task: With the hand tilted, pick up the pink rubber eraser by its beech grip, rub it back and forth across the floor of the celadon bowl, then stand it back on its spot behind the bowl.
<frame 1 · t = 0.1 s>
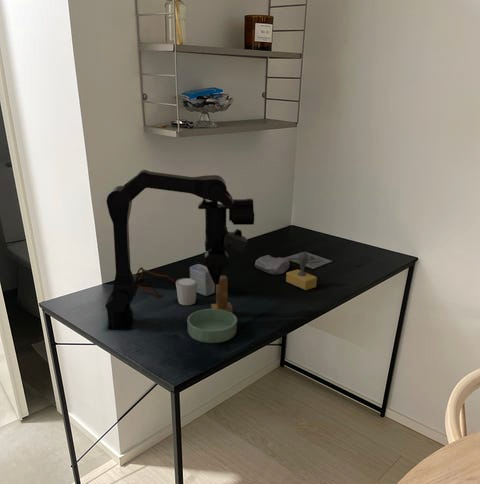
hand: (216, 278, 140), 15 cm above the table, tool pointing down, fingers open, 9 cm apart
stone block: (270, 269, 188), on the table
rubber stamp: (300, 284, 175), on the table
medicine box: (202, 292, 168), on the table
bowl: (212, 331, 142), on the table
glasses: (150, 287, 170), on the table
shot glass: (187, 302, 160), on the table
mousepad: (320, 262, 196), on the table
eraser: (221, 314, 152), on the table
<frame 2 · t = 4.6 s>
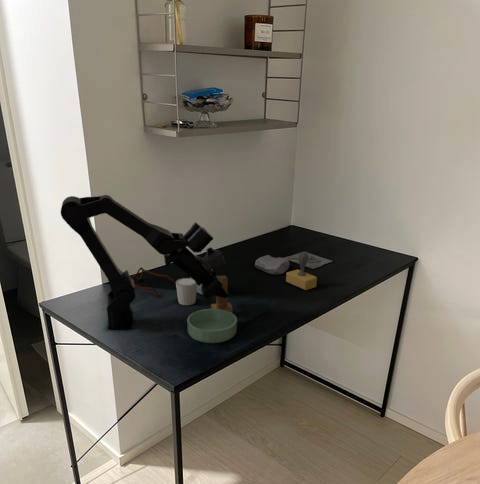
hand: (226, 295, 149), 7 cm above the table, tool tilted 45°, fingers closed on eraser, 3 cm apart
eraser: (221, 314, 152), on the table, touching gripper
everything else where it was.
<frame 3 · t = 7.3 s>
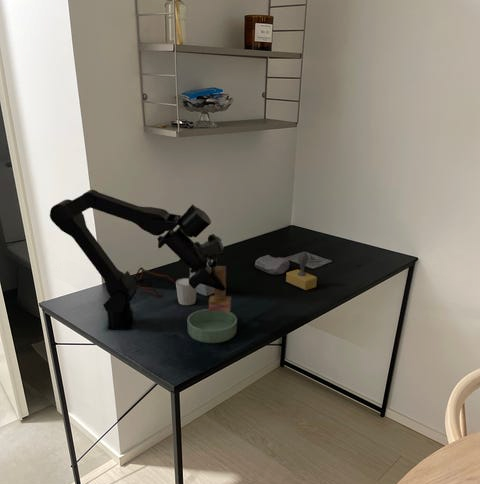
hand: (225, 287, 137), 13 cm above the table, tool tilted 45°, fingers closed on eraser, 3 cm apart
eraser: (220, 308, 140), point 7 cm above the table, touching gripper
everything else where it was.
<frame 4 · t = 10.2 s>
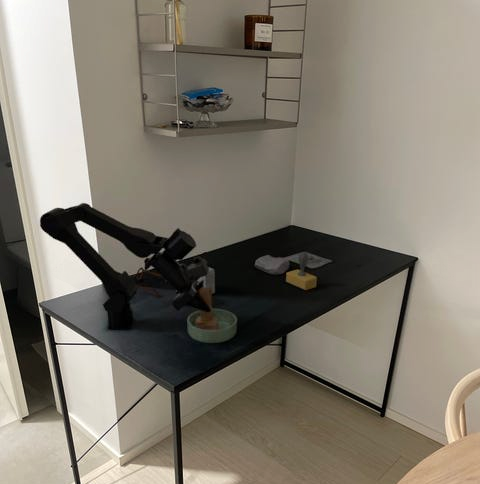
hand: (210, 309, 139), 7 cm above the table, tool tilted 45°, fingers closed on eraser, 3 cm apart
bowl: (212, 331, 142), on the table, touching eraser
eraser: (207, 329, 142), point 1 cm above the table, touching bowl, gripper
everything else where it was.
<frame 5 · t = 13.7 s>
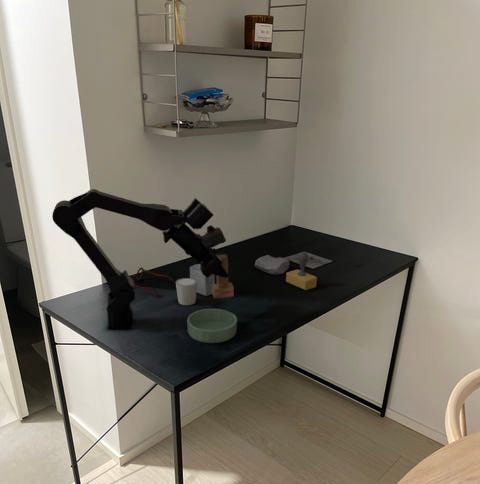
hand: (226, 274, 145), 13 cm above the table, tool tilted 45°, fingers closed on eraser, 3 cm apart
bowl: (212, 331, 142), on the table
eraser: (222, 295, 148), point 7 cm above the table, touching gripper
everything else where it was.
when the fingers open (7 cm above the table, at t = 16.1 s): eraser stays where it is, on the table.
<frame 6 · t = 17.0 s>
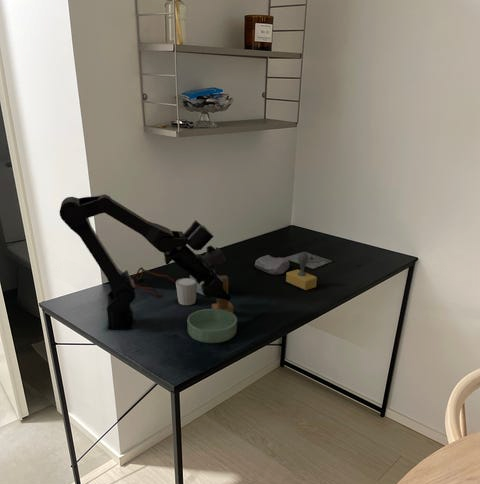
hand: (226, 293, 149), 7 cm above the table, tool tilted 45°, fingers open, 9 cm apart
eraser: (222, 314, 152), on the table
everything else where it was.
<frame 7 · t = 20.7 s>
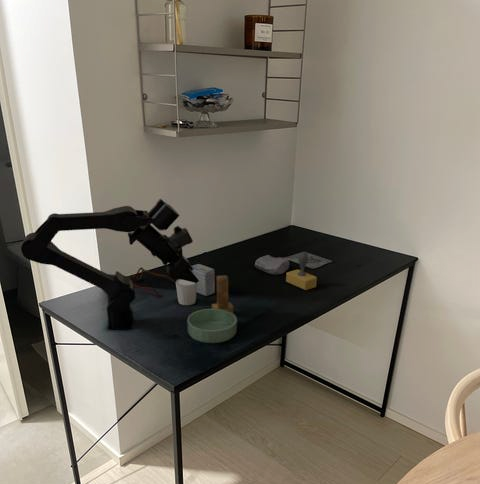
hand: (194, 275, 144), 14 cm above the table, tool tilted 45°, fingers open, 9 cm apart
nothing on the table moved.
at the end: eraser 0.2 cm from the target spot, on the table; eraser tilted 0°; bowl moved 0.0 cm from its start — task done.
